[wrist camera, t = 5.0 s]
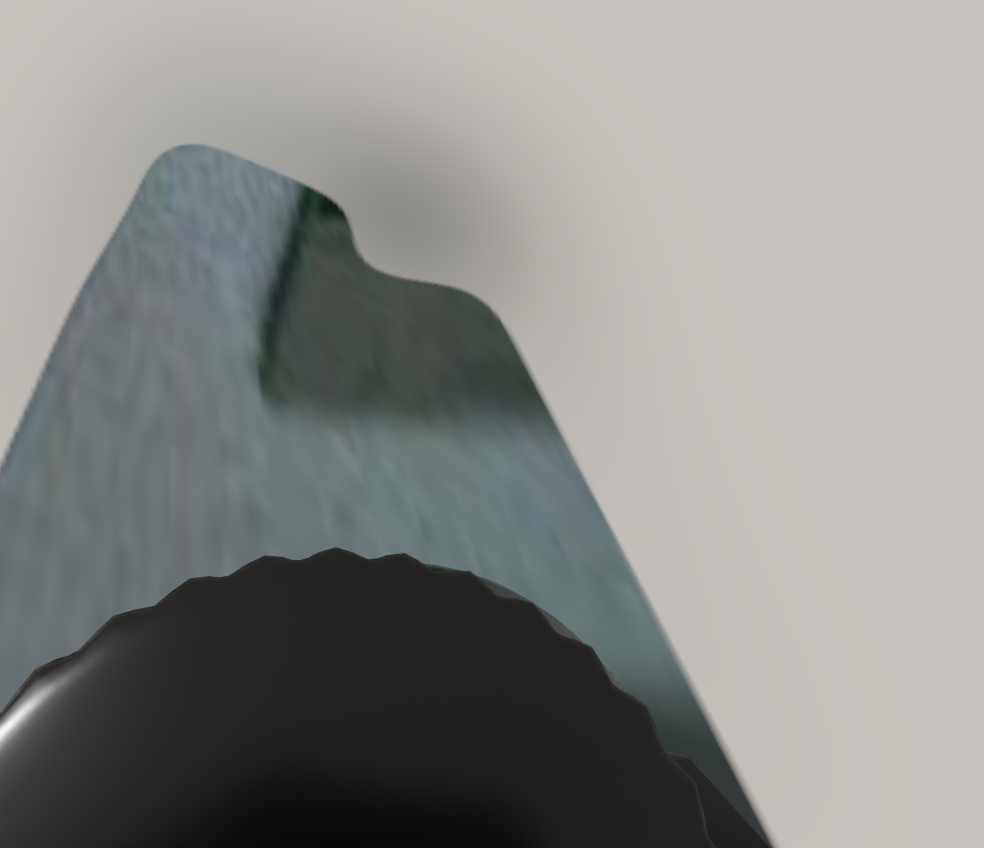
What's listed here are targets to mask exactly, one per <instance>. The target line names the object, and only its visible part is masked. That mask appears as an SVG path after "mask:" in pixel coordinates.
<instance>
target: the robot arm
mask: <svg viewBox="0 0 984 848" xmlns="http://www.w3.org/2000/svg"><path fill="white" fill-rule="evenodd" d="M666 753H667V754H668V755H669V756H670V757H671V758H672V759H673V760H674V761H676V762H677V763H678V764H679V765H680V766H681V767H682V768H683V769H684V770H685V771H686V772H687V773H688V774H689V775H690V777H691V778H692V779H693V780H694V781H695V782H696V784H697V787H698V791H699V795H700V799H701V802H702V806H703V811H704V817H705V822H706V827H707V833H708V835H709V836H710V838H711V840H712V841H713V843H714V844H715V846H716V847H717V848H772V847H771V846H770V845H769V844H768V843H767V842H766V840H765V839H764V838H763V837H762V836H761V835H760V834H759V833H758V832H757V830H756V829H755V828H754V827H753V826H752V825H751V824H750V823H749V822H748V820H747V819H746V818H745V817H744V816H743V815H742V814H741V813H740V812H739V810H738V809H737V808H736V807H735V806H734V805H733V804H732V803H731V802H730V800H729V799H728V798H727V797H726V796H725V795H724V794H723V793H722V792H721V790H720V789H719V788H718V787H717V786H716V785H715V784H714V783H713V782H712V780H711V779H710V778H709V777H708V776H707V775H706V774H705V773H704V772H703V770H702V769H701V768H700V767H699V766H698V765H697V764H696V763H695V762H694V761H693V760H692V759H691V758H690V757H689V756H686V755H683V754H676V753H670V752H666Z"/></svg>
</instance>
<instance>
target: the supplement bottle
mask: <svg viewBox="0 0 984 848" xmlns="http://www.w3.org/2000/svg"><path fill="white" fill-rule="evenodd" d="M0 848H717V847H716V846H715V844H714V843H713V841H712V840H711V838H710V836H709V835H708V833H707V827H706V822H705V817H704V811H703V806H702V802H701V799H700V795H699V791H698V787H697V784H696V782H695V781H694V780H693V779H692V778H691V777H690V775H689V774H688V773H687V772H686V771H685V770H684V769H683V768H682V767H681V766H680V765H679V764H678V763H677V762H676V761H674V760H673V759H672V758H671V757H670V756H669V755H668V754H667V753H666V752H665V751H663V748H662V745H661V742H660V739H659V736H658V733H657V730H656V727H655V725H654V722H653V720H652V718H651V715H650V713H649V710H648V708H647V706H645V705H644V704H643V703H641V702H640V701H639V700H637V699H636V698H634V697H633V696H632V695H630V694H628V693H626V692H624V691H623V689H622V688H621V687H620V685H619V684H618V682H617V681H616V679H615V678H614V677H613V676H612V674H611V673H610V672H609V671H608V670H607V668H606V667H605V666H604V665H603V664H602V662H601V661H600V659H599V658H598V656H597V654H596V653H595V651H594V650H593V648H592V647H591V646H589V645H587V644H584V643H583V642H582V641H581V640H580V639H579V638H578V637H577V636H576V635H575V634H574V633H573V632H571V631H570V630H569V629H568V628H567V627H565V626H564V625H563V624H562V623H561V622H559V621H558V620H557V619H556V618H555V617H553V616H552V615H550V614H549V613H548V612H546V611H545V610H543V609H542V608H540V607H539V606H537V605H536V604H534V603H533V602H532V601H530V600H528V599H526V598H524V597H523V596H521V595H519V594H517V593H515V592H514V591H512V590H510V589H508V588H506V587H503V586H501V585H499V584H497V583H494V582H492V581H490V580H487V579H485V578H482V577H479V576H476V575H474V574H473V573H472V572H470V571H461V570H456V569H452V568H447V567H442V566H438V565H431V564H423V563H421V562H420V561H418V560H416V559H415V558H413V557H411V556H409V555H407V554H405V553H402V554H393V555H386V556H383V557H380V558H377V559H366V558H364V557H361V556H359V555H357V554H355V553H352V552H350V551H346V550H343V549H340V548H336V547H335V548H332V549H329V550H325V551H322V552H319V553H317V554H315V555H313V556H311V557H309V558H306V559H303V560H290V559H287V558H284V557H277V556H262V557H261V558H259V559H257V560H255V561H253V562H251V563H249V564H247V565H245V566H243V567H242V568H240V569H239V570H237V571H235V572H234V573H232V574H231V575H229V576H225V577H212V576H207V577H199V578H190V579H189V580H187V581H186V582H184V583H183V584H182V585H180V586H179V587H177V588H176V589H174V590H173V591H172V592H171V593H169V594H168V595H167V596H166V597H165V598H163V599H162V600H161V601H160V602H158V603H157V604H156V605H155V606H152V607H146V608H141V609H136V610H132V611H129V612H125V613H122V614H119V615H115V616H113V617H112V618H111V619H110V620H109V621H108V622H107V623H105V624H104V625H103V626H102V627H101V628H100V629H99V630H98V631H97V632H96V633H95V634H94V635H93V636H92V637H91V638H90V639H89V640H88V641H87V642H86V643H85V644H84V645H83V646H82V648H81V649H80V650H79V651H77V652H75V653H73V654H71V655H69V656H66V657H62V658H58V659H56V660H53V661H51V662H49V663H47V664H45V665H43V666H41V667H39V668H37V669H35V670H34V671H33V672H32V674H31V675H30V676H29V677H28V678H27V680H26V681H25V682H24V683H23V684H22V686H21V687H20V688H19V689H18V691H17V692H16V693H15V695H14V696H13V697H12V699H11V700H10V701H9V703H8V704H7V705H6V707H5V708H4V709H3V711H2V712H1V713H0Z"/></svg>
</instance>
